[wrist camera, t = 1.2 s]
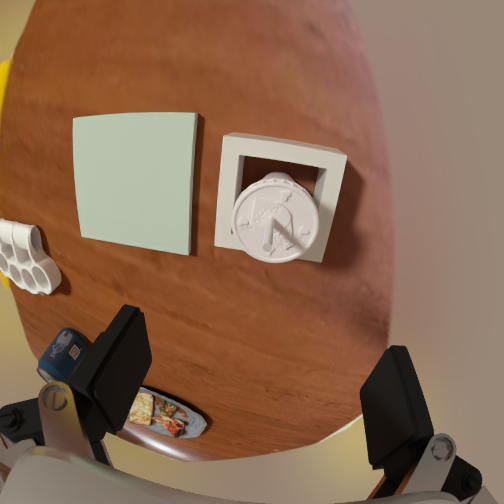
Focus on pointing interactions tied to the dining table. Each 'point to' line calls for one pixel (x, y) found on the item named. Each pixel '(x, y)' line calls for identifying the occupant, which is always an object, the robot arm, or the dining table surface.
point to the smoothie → (275, 219)
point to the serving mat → (136, 178)
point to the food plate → (164, 416)
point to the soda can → (62, 356)
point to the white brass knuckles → (26, 258)
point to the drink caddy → (284, 150)
